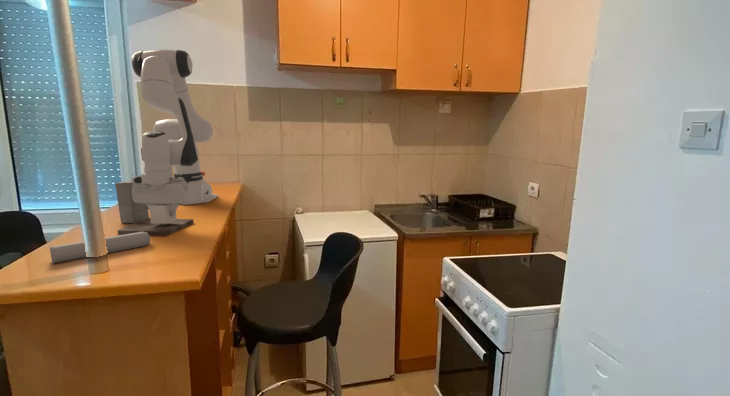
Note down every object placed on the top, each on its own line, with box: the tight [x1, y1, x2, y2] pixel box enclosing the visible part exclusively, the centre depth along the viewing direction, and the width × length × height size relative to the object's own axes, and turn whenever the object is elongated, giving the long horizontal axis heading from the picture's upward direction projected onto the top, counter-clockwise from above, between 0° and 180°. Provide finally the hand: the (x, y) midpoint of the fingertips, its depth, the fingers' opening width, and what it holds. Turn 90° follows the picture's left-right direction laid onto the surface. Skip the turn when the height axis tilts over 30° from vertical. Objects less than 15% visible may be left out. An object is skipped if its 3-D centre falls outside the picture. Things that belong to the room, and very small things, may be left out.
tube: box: [49, 232, 151, 265], centre depth 117 cm, size 5×5×25 cm
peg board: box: [117, 217, 194, 237], centre depth 143 cm, size 17×18×6 cm
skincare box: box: [114, 180, 150, 224], centre depth 153 cm, size 8×7×16 cm
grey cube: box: [148, 204, 178, 224], centre depth 142 cm, size 6×6×6 cm
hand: (163, 215), depth 142 cm, fingers closed on grey cube, 6 cm apart
